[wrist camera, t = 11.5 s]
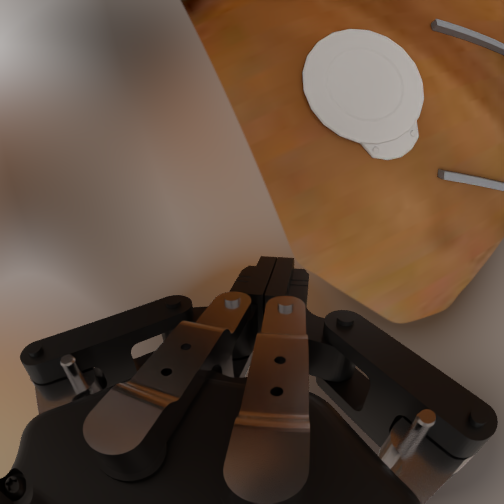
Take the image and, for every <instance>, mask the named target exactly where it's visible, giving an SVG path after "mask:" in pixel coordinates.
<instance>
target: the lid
mask: <svg viewBox="0 0 504 504" xmlns="http://www.w3.org/2000/svg"><path fill="white" fill-rule="evenodd" d="M302 75H303V89H304V93H305V95H306V98H307V100H308V103H309V105H310V108H311V110H312V111H313V112H314V113H315V115H316V116H317V117H318V118H319V119H320V121H321V122H322V123H323V125H325V126H326V127H328V128H329V129H331V130H332V131H333V132H335V133H336V134H338V135H339V136H341V137H344V138H346V139H349V140H352V141H355V142H357V143H360V144H361V145H362V146H363V148H364V149H365V150H366V151H367V152H368V153H369V154H370V156H371V157H373V158H378V159H384V160H391V159H395V158H400V157H402V156H403V155H405V154H406V153H407V152H409V151H410V150H411V149H412V148H413V146H414V144H415V143H416V141H417V139H418V137H419V135H418V128H417V121H416V120H417V119H418V118H419V116H420V113H421V109H422V105H423V101H424V94H423V83H422V79H421V77H420V74H419V72H418V69H417V67H416V65H415V63H414V62H413V60H412V59H411V58H410V57H409V55H408V54H407V53H406V52H405V50H404V49H403V48H401V47H400V46H399V45H397V44H396V43H395V42H393V41H392V40H390V39H389V38H388V37H385V36H383V35H380V34H378V33H375V32H372V31H369V30H359V29H347V30H343V31H338V32H334V33H331V34H330V35H328V36H327V37H325V38H323V39H322V40H320V41H319V42H317V44H316V45H315V46H314V48H313V49H312V50H311V52H310V53H309V54H308V56H307V58H306V62H305V65H304V69H303V72H302Z"/></svg>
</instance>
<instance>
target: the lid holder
mask: <svg viewBox="0 0 504 504" xmlns="http://www.w3.org/2000/svg"><path fill="white" fill-rule="evenodd" d="M431 27H432V30H434V31H438V32H441V33H445V34H448V35H451V36H455V37H458V38H461V39H464V40H467V41H469V42H472V43H475V44H478V45H480V46H483V47H485V48H488V49H490V50H493V51H495V52H497V53H500V54H502V55H504V44H503V43H501V42H499V41H496V40H494V39H492V38H490V37H487V36H485V35H482V34H480V33H477V32H475V31H472V30H469V29H467V28H464V27H461V26H458V25H455V24H452V23H449V22H445V21H442V20H439V19H435V20H434V21H433V22H432V23H431ZM438 177H439V178H441V179H444V180H450V181H456V182H461V183H467V184H472V185H478V186H483V187H487V188H492V189H497V190H501V191H504V182H500V181H495V180H491V179H487V178H482V177H477V176H472V175H467V174H462V173H457V172H451V171H445V170H439V169H438Z"/></svg>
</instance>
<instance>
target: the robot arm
mask: <svg viewBox="0 0 504 504" xmlns="http://www.w3.org/2000/svg"><path fill="white" fill-rule="evenodd" d="M308 281H309V274H308V273H307V272H306V270H305V269H294V258H283V257H278V259H277V257H264V256H261V257H260V259H259V261H258V264H257V266H248V267H246V268H245V269H243V270H242V271H241V273H240V274H239V277H238V278H237V279H236V281H235V283H234V285H233V286H232V288H231V290H230V291H229V292H225V293H222V294H220V295H218V296H217V297H215V299H214V300H213V301H212V302H211V303H210V305H209V306H208V307H194V308H193V307H192V301H191V299H190V298H188V297H185V296H181V295H173V296H168V297H165V298H162V299H159V300H156V301H154V302H151V303H148V304H145V305H142V306H139V307H136V308H133V309H130V310H127V311H125V312H122V313H119V314H116V315H113V316H110V317H107V318H104V319H101V320H98V321H95V322H92V323H89V324H86V325H84V326H80V327H77V328H75V329H72V330H69V331H66V332H63V333H60V334H57V335H54V336H51V337H47V338H45V339H42V340H39V341H35V342H33V343H31V344H29V345H28V346H26V347H25V348H24V350H23V351H22V353H21V355H20V359H21V362H22V364H23V365H24V367H25V369H26V371H27V372H28V374H29V376H30V379H31V381H32V383H33V384H34V386H35V391H36V398H37V405H38V411H39V415H37V416H36V417H35V418H33V419H32V420H31V421H30V422H29V423H28V425H27V426H26V428H25V429H24V431H23V434H22V437H21V441H20V446H19V450H18V454H17V457H16V460H15V462H14V464H13V466H12V469H11V470H10V472H9V473H8V474H7V475H6V476H5V477H3V478H1V479H0V504H425V503H426V502H427V501H428V500H429V499H430V498H431V497H432V496H433V495H434V494H435V493H436V492H437V491H438V489H440V487H441V486H442V485H443V484H444V483H446V482H447V481H448V480H449V479H450V478H451V477H452V476H453V475H454V474H456V473H457V472H458V471H459V470H460V469H461V468H462V467H463V466H464V465H465V464H466V463H467V462H468V461H469V460H470V459H471V458H472V457H473V456H474V455H475V454H476V453H477V452H478V451H479V450H480V448H481V447H482V446H483V445H484V444H485V443H486V442H487V441H488V440H489V438H490V437H491V436H492V435H493V434H494V432H495V431H496V428H497V423H498V421H497V416H496V413H495V411H494V410H493V409H492V408H491V406H489V405H488V404H487V403H485V402H484V401H483V400H481V399H480V398H478V397H477V396H476V395H474V394H473V393H471V392H470V391H469V390H467V389H466V388H464V387H462V386H461V385H460V384H458V383H457V382H456V381H454V380H453V379H451V378H450V377H448V376H447V375H446V374H444V373H443V372H441V371H440V370H439V369H437V368H436V367H434V366H433V365H431V364H430V363H428V362H427V361H426V360H424V359H422V358H421V357H420V356H419V355H417V354H416V353H414V352H413V351H411V350H410V349H408V348H407V347H405V346H404V345H402V344H401V343H400V342H398V341H397V340H395V339H394V338H393V337H391V336H390V335H388V334H387V333H385V332H384V331H382V330H381V329H379V328H378V327H376V326H375V325H374V324H372V323H371V322H369V321H368V320H366V319H365V318H363V317H362V316H361V315H359V314H357V313H355V312H352V311H347V310H338V311H333V312H331V313H329V314H328V315H327V316H326V317H325V318H321V317H318V316H316V315H313V314H312V313H311V312H309V311H308V309H307V295H308ZM160 334H162V337H163V343H162V344H161V345H160V346H159V347H158V348H157V349H156V351H153V352H151V353H148V354H146V355H143V356H141V357H138V358H135V359H133V358H132V356H131V349H132V347H133V346H134V345H135V344H137V343H139V342H142V341H144V340H147V339H149V338H152V337H154V336H157V335H160ZM249 366H250V368H249ZM355 366H357V367H358V368H359V369H361V370H362V371H363V372H364V373H365V374H366V375H367V376H368V378H369V379H367V378H366V377H365V376H364V375H363V374H362V373H361V372H359V371H358V370H357V369H356V368H355ZM94 367H95V368H94ZM248 368H249V373H248V377H245V375H246V373H247V371H248ZM309 374H310V375H312V376H316V382H317V384H318V386H319V387H320V388H321V389H322V390H323V391H324V392H325V393H326V394H327V395H328V396H329V397H330V398H331V399H332V400H333V401H334V402H335V403H336V404H337V405H338V406H339V407H340V408H341V409H342V410H343V411H344V412H345V413H346V414H347V415H348V416H349V417H350V418H351V419H352V420H353V421H354V422H355V423H356V424H357V425H358V426H359V427H360V428H361V429H362V430H363V431H364V432H365V433H366V434H367V435H368V436H369V437H370V438H371V439H372V440H373V441H374V442H375V443H376V444H377V445H378V446H379V447H380V451H379V457H378V456H377V454H376V453H375V452H374V451H373V450H372V449H371V448H370V447H369V446H368V445H367V444H366V443H365V442H364V441H363V440H362V438H360V437H359V435H358V434H357V433H356V432H355V431H354V430H353V429H352V428H351V427H350V425H349V424H348V423H347V422H346V421H345V420H344V419H343V418H342V417H341V416H340V414H339V413H338V412H337V411H336V410H335V409H334V408H333V407H332V406H331V405H330V404H329V403H328V402H326V401H325V400H324V399H322V398H321V397H319V396H317V395H315V394H313V393H311V392H309Z"/></svg>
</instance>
